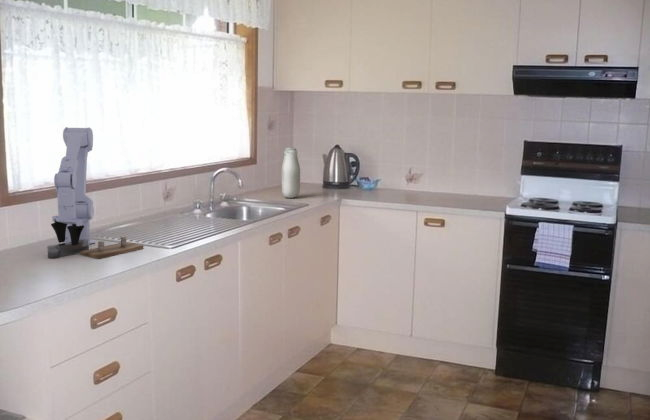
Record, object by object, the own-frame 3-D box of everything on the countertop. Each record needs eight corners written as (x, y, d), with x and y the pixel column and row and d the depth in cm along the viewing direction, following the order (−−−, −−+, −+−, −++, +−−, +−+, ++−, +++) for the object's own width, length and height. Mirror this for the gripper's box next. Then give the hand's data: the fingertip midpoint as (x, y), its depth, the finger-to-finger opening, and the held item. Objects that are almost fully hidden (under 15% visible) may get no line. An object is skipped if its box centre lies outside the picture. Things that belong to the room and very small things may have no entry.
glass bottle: (292, 195, 391) (292, 146, 386) (303, 198, 383) (303, 147, 378) (277, 197, 384) (278, 147, 380) (289, 199, 377) (289, 148, 372)
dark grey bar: (45, 257, 242) (44, 246, 241) (84, 249, 255) (83, 238, 254) (52, 259, 240) (51, 248, 239) (91, 251, 253) (90, 240, 252)
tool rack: (80, 254, 247) (80, 242, 246) (125, 244, 263) (125, 233, 262) (98, 258, 241) (98, 246, 240) (143, 248, 257) (143, 236, 257)
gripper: (44, 205, 245) (46, 242, 247) (69, 209, 237) (71, 248, 239) (61, 202, 251) (63, 239, 253) (86, 206, 243) (88, 244, 245)
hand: (68, 243), depth 246 cm, fingers open, 7 cm apart
